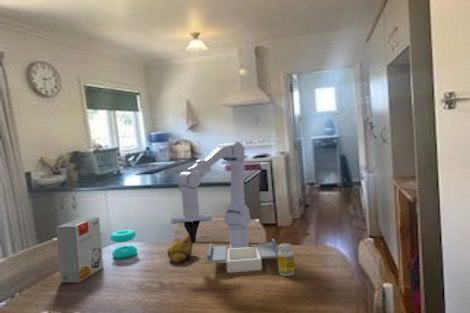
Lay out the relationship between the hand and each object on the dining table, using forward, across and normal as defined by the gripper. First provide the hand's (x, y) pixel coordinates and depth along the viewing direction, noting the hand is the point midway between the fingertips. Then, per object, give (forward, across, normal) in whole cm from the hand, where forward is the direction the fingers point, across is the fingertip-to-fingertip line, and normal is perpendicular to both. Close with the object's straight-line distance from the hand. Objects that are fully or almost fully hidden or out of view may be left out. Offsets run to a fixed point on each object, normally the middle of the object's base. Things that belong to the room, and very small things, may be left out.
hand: (193, 242), depth 134 cm
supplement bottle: (+10, +32, -11) cm, 35 cm away
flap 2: (+5, +27, 0) cm, 27 cm away
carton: (+10, +18, 0) cm, 20 cm away
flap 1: (+5, +8, 0) cm, 10 cm away
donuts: (+10, -32, +21) cm, 39 cm away
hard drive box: (+10, -42, +2) cm, 43 cm away
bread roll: (+10, -7, +12) cm, 17 cm away
